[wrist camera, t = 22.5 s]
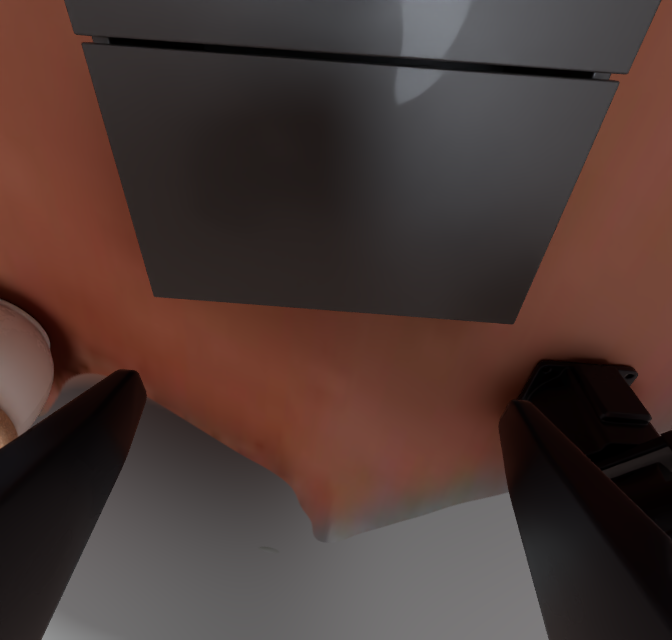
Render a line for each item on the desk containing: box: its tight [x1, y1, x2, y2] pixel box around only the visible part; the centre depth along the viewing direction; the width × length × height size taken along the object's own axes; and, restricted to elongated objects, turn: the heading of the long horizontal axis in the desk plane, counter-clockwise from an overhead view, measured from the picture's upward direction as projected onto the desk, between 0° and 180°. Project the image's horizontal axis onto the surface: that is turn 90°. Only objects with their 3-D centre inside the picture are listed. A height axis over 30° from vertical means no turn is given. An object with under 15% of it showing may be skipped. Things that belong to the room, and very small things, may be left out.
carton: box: [64, 0, 661, 80], centre depth 12 cm, size 15×13×8 cm
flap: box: [82, 42, 619, 324], centre depth 11 cm, size 7×13×1 cm, turn 87°
